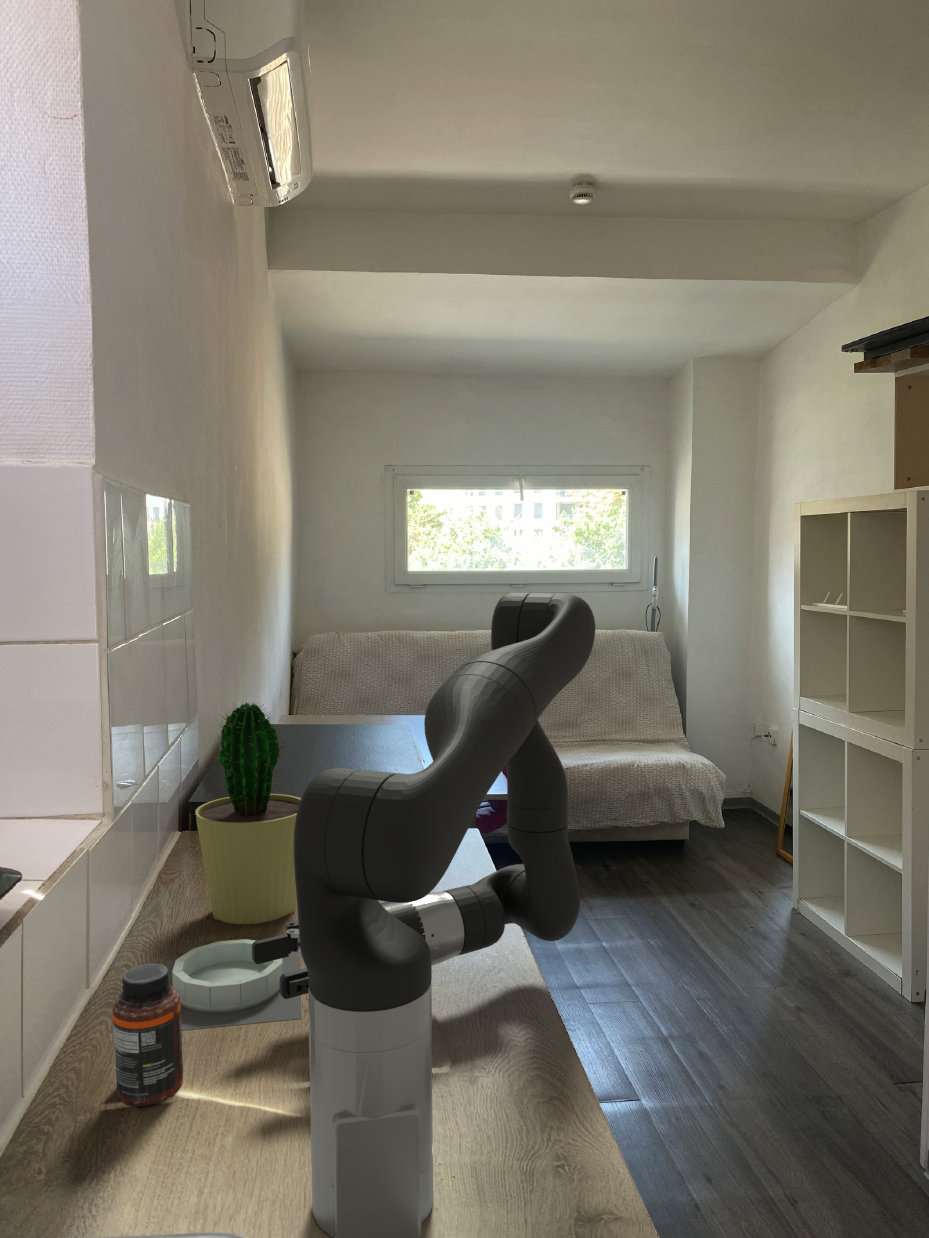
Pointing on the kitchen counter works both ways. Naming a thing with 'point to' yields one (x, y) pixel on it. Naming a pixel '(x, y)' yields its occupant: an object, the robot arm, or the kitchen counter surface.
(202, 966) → the bowl
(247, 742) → the potted cactus
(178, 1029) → the supplement bottle
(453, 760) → the robot arm
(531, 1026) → the kitchen counter surface
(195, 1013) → the mat
